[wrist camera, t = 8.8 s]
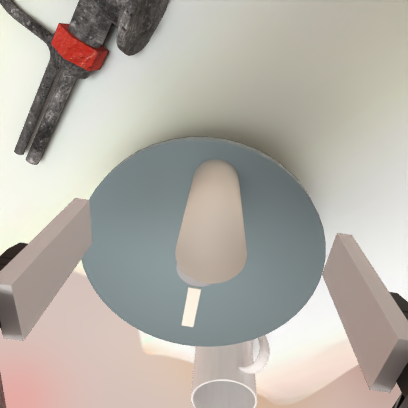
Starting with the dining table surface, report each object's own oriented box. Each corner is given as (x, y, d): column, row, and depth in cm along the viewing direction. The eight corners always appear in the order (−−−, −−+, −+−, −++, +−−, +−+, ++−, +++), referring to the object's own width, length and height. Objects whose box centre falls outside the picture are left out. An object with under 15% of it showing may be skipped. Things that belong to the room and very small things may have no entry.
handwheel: (282, 348, 35) (307, 476, 24) (86, 316, 34) (26, 431, 24) (358, 162, 25) (454, 243, 15) (85, 114, 24) (-18, 160, 14)
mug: (229, 355, 49) (230, 428, 39) (187, 333, 47) (178, 403, 38) (280, 310, 44) (296, 380, 35) (236, 283, 42) (239, 349, 33)
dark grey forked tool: (57, -164, 26) (201, -42, 27) (-24, 100, 37) (80, 177, 38) (-5, -230, 20) (181, -72, 21) (-79, 106, 31) (46, 197, 32)
